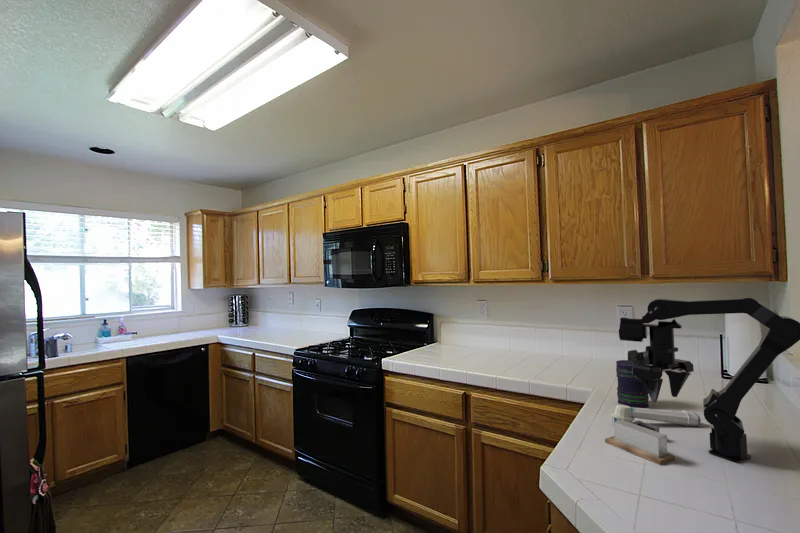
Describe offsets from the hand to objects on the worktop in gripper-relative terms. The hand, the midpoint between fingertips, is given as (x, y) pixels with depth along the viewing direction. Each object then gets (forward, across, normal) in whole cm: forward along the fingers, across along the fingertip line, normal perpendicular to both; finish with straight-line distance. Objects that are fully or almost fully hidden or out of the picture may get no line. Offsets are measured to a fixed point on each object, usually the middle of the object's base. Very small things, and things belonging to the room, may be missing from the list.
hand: (664, 399), depth 107 cm
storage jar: (+12, -23, -25) cm, 36 cm away
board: (+12, +12, 0) cm, 17 cm away
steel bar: (+11, +11, 0) cm, 16 cm away
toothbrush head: (+12, -10, -10) cm, 19 cm away
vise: (+12, +4, -5) cm, 14 cm away
